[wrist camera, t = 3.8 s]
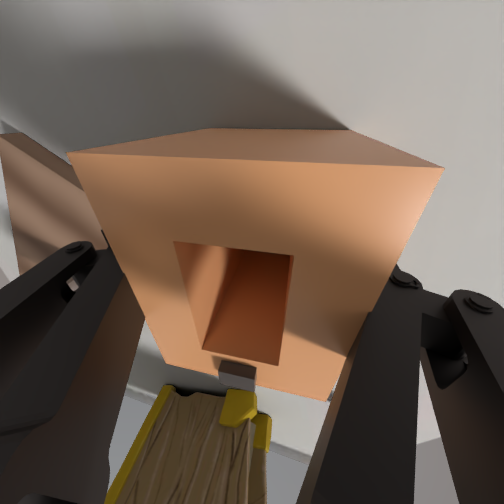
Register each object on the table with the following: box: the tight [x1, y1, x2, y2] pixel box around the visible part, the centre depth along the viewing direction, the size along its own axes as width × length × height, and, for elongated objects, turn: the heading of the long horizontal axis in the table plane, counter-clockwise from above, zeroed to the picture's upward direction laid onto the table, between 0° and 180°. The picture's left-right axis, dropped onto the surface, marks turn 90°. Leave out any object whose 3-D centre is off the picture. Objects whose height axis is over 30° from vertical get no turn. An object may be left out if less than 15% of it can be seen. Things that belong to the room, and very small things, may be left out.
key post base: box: [0, 133, 108, 291], centre depth 18 cm, size 20×14×8 cm
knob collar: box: [66, 128, 445, 402], centre depth 10 cm, size 10×8×10 cm
